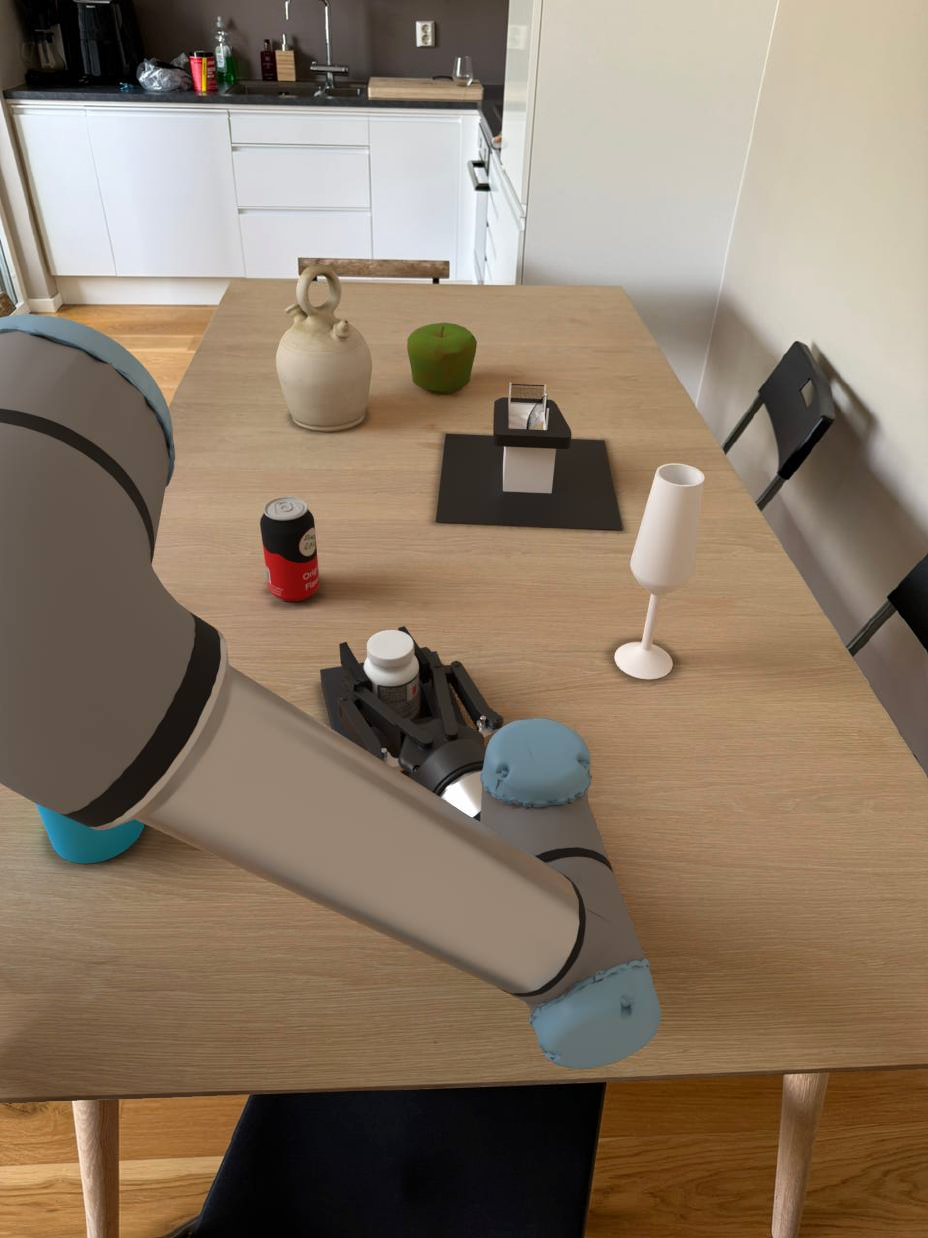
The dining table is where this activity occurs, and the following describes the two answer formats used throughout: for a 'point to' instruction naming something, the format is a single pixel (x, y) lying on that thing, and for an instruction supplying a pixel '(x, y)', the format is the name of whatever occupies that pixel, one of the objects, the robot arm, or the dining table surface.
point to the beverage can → (290, 549)
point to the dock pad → (335, 688)
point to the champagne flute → (663, 558)
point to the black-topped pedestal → (527, 471)
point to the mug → (87, 838)
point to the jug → (323, 361)
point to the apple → (441, 357)
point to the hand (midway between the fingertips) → (373, 645)
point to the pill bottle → (394, 672)
